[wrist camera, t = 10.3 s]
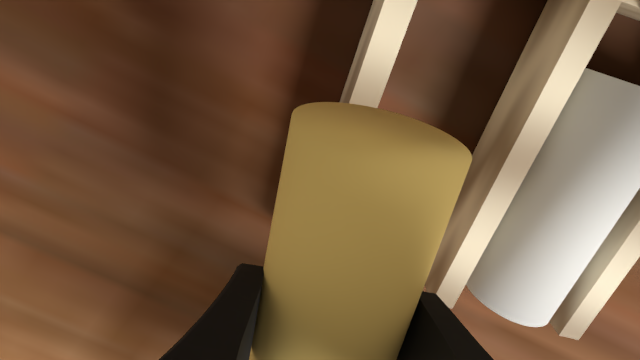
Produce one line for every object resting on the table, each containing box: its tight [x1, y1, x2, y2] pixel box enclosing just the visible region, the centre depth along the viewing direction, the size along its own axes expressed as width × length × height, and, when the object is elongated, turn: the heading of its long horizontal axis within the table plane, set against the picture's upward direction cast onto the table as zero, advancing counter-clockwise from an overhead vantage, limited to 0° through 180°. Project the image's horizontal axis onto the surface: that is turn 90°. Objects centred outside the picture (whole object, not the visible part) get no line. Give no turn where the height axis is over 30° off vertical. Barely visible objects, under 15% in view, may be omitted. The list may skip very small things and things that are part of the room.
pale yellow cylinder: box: [249, 102, 472, 360], centre depth 12 cm, size 10×4×4 cm, turn 168°
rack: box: [340, 0, 640, 340], centre depth 17 cm, size 14×14×3 cm
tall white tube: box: [466, 68, 640, 327], centre depth 18 cm, size 10×4×4 cm, turn 163°
